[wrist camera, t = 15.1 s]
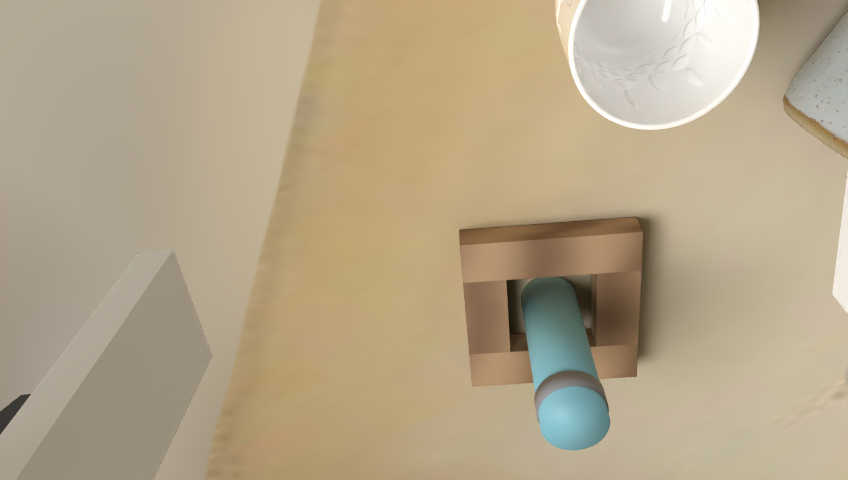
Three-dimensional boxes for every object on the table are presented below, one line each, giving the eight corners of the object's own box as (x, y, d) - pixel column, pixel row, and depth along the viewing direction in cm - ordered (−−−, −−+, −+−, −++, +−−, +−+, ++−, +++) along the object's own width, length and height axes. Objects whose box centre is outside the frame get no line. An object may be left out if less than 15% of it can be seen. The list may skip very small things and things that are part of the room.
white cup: (722, -33, 39) (801, 6, 30) (629, 93, 43) (677, 160, 34) (600, -116, 37) (647, -100, 29) (514, 22, 41) (532, 73, 32)
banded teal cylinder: (577, 271, 48) (612, 394, 38) (577, 320, 50) (611, 449, 40) (518, 276, 49) (537, 398, 38) (520, 323, 50) (539, 453, 40)
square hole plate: (635, 216, 46) (643, 231, 45) (630, 358, 52) (636, 376, 50) (459, 230, 47) (459, 245, 45) (471, 367, 52) (472, 386, 51)
